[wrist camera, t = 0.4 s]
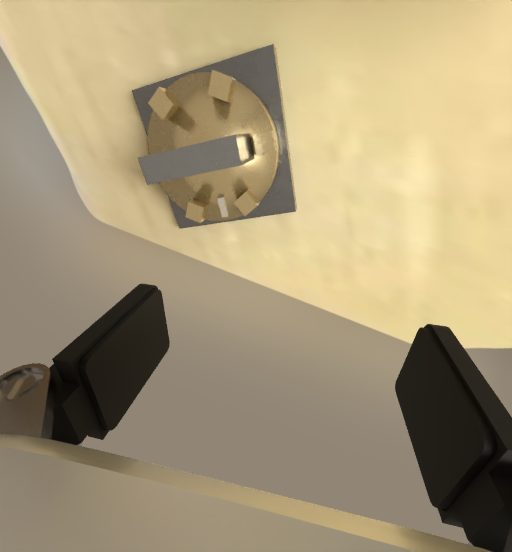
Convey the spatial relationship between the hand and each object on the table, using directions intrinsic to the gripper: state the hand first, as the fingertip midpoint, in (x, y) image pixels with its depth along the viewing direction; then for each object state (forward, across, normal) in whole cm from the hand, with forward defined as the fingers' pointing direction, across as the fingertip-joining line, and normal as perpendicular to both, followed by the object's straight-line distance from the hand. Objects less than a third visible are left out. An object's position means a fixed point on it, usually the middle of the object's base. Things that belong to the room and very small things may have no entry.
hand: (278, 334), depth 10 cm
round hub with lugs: (+32, +13, -4) cm, 35 cm away
